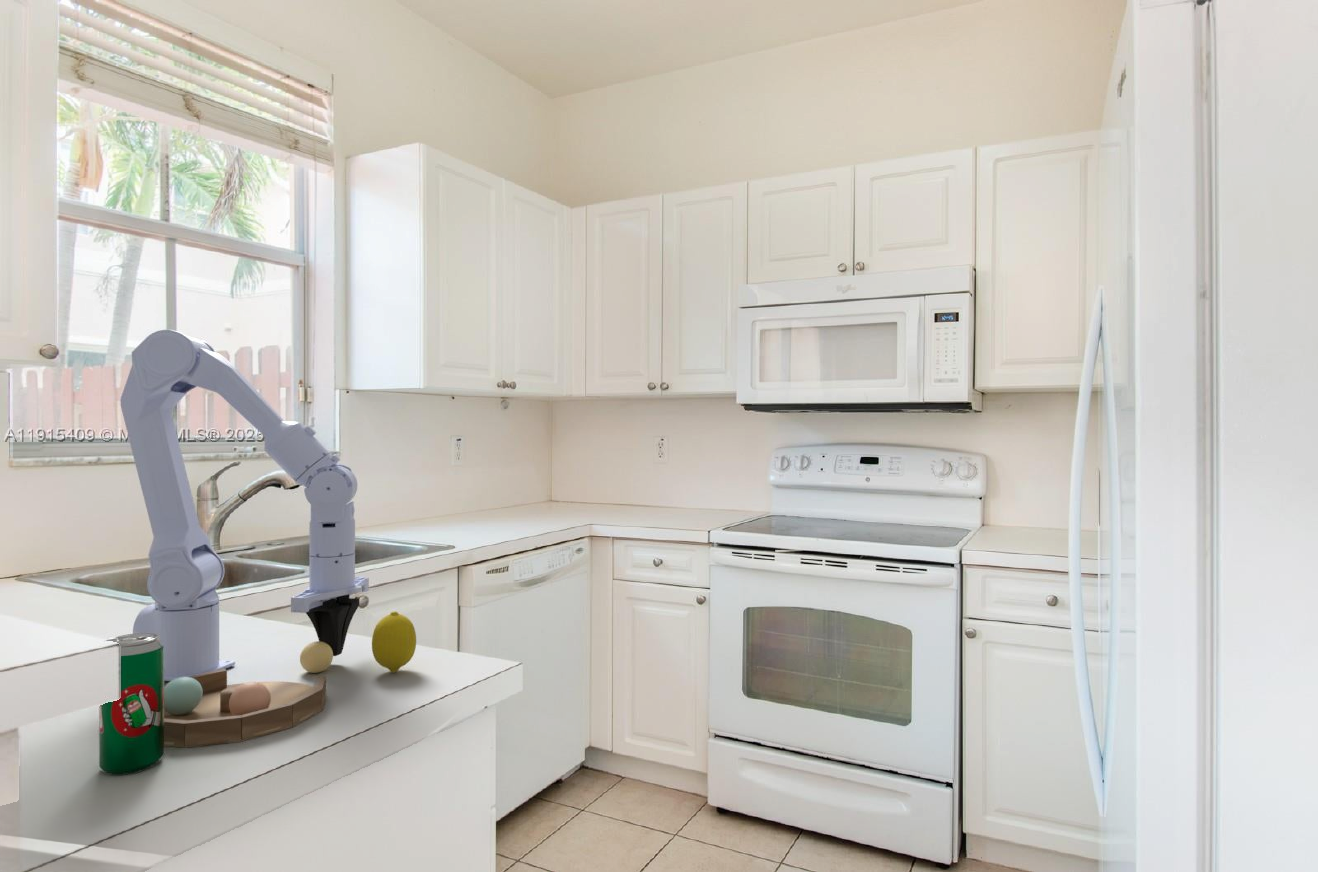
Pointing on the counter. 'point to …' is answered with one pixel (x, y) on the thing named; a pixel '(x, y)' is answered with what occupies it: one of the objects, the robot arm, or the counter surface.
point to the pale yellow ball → (316, 657)
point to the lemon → (394, 641)
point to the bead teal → (182, 695)
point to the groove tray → (220, 726)
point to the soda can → (135, 708)
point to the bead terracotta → (249, 698)
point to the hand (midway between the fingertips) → (332, 654)
